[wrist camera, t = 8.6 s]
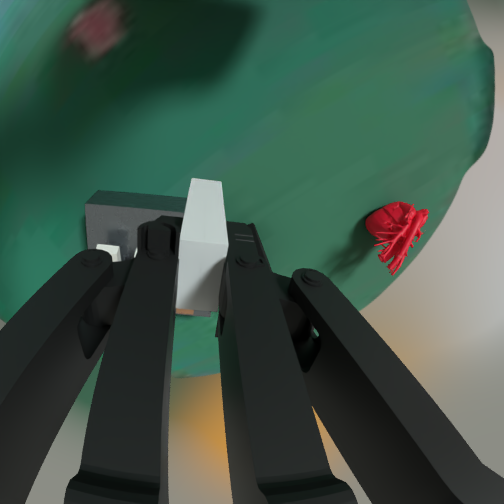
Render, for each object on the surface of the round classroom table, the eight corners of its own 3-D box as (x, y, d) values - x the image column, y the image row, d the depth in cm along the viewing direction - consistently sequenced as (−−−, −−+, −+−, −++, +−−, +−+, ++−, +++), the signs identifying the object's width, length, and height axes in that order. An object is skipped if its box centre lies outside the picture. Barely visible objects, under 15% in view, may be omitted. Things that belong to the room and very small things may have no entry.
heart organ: (414, 215, 53) (450, 244, 43) (371, 251, 56) (400, 287, 46) (396, 178, 48) (435, 203, 38) (348, 218, 51) (379, 251, 41)
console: (98, 190, 43) (77, 211, 35) (223, 202, 47) (226, 226, 39) (103, 284, 52) (90, 315, 44) (209, 295, 56) (210, 328, 48)
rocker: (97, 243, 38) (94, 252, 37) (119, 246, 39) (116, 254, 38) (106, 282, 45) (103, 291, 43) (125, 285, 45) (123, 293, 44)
